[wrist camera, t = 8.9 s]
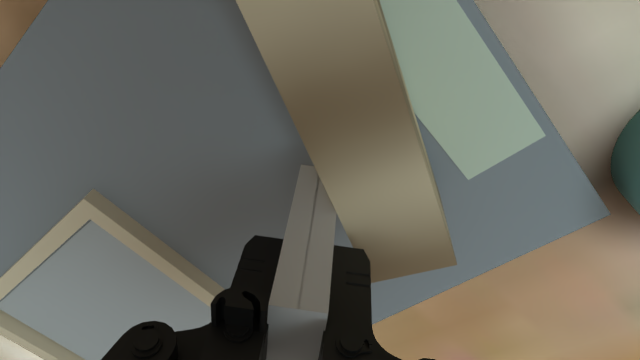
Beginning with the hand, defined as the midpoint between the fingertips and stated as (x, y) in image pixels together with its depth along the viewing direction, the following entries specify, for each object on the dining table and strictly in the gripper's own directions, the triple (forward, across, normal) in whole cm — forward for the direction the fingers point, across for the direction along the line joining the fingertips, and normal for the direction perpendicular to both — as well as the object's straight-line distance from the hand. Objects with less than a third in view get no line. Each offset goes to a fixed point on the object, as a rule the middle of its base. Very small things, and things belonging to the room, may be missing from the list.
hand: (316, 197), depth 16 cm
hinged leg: (+1, 0, +6) cm, 6 cm away
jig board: (+3, -6, -4) cm, 8 cm away
